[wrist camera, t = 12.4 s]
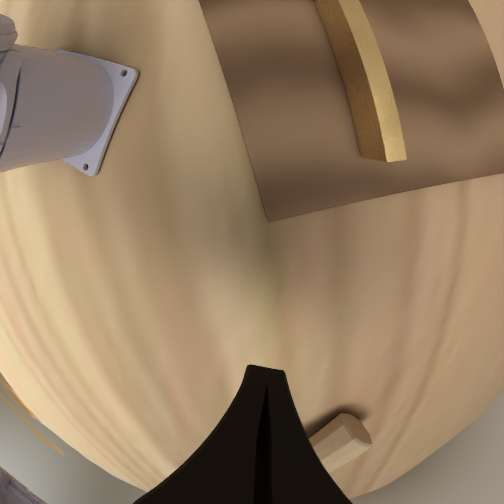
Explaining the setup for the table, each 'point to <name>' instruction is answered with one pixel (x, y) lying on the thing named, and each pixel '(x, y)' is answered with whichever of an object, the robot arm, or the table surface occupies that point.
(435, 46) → the walnut board
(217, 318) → the table surface
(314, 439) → the hammer
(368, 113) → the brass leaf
